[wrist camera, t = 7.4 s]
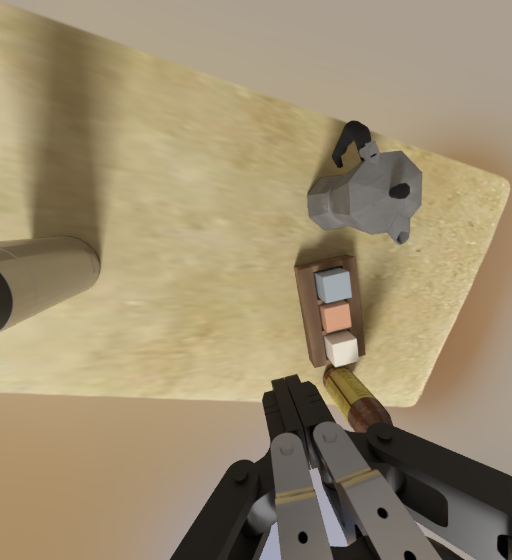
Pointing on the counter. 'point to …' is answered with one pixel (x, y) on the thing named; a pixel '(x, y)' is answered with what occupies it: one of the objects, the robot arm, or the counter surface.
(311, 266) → the brown button board
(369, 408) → the sauce bottle
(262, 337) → the counter surface
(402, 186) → the coffeepot
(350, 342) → the cream button
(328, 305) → the terracotta button
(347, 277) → the slate button
